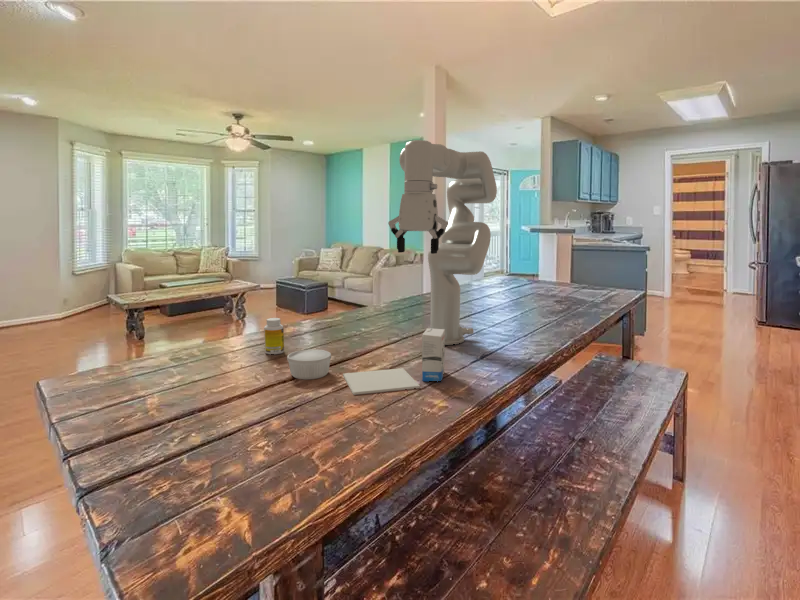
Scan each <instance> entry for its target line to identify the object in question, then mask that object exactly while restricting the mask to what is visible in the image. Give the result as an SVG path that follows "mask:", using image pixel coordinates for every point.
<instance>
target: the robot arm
mask: <svg viewBox="0 0 800 600" xmlns="http://www.w3.org/2000/svg"><path fill="white" fill-rule="evenodd" d="M399 164H400V168H401V169H402V170H403V172H404V185H403V186H404V188H403V189H404V192H403V193H402V194H401V198H400V204H399V213H398V216H396V217H394V218H393V219H391V220H389V221H388V227H389V229H390V231H391V233H392V234H393V235H394V237H395V238H396V249H397V253H405V251H406V238H405V237H404V236H405V235H406V233H407V232H428V233H429V234H430V235H431V236H432V238H430V249H429V251H428V254H427V260H428V261H427V262H428V269H429V275H430V320H429V322H430V323H429V324H430V326H429V328H432V329H445V346H453V344H455V345H459V343H460V344H462V343H464V342H465V337H464V336H465V335H473V334H474V329H473V327H469V328H467V327H463V326H461V325H460V324H461V323H460V320H461V319H460V317H461V315H460V314H461V285H460V283H459V281H458V279H457V278H456V276H455V275H465V276H466V275H468V276H473V275H475V276H476V275H477V274H479V273H480V272H481V270H482V269H483V267H484V263H485V260H486V257H487V254H488V251H489V248H490V245H491V237H492V236H491V230H490V227H489V225H488V224H487V223H485V222H482V221H475V216H474V214H473V213H472V211H471V209H469V207H468V206H466V205H467V204H469V205H470V204H472V205H473V204H490V203H492V202H494V201H495V199H496V198H497V194H498V188H497V182H496V181H497V180H496V179H495V174H494V170H493V166H492V162H491V159H490V157H489V155H488V154H487V153H485V152H484V151H467V152H465V151H463V152H460V151H458V150H455V149H451V148H447V147H446V146H445V145H444V144H439V143H438V144H437V143H432V142H431V141H429V140H423V139H416V140H414V139H413V140H410V141H407V142H406V143H405V146H404V148H402V150H401V152H400V155H399ZM434 177H436V178H448V179H454V180H451V181H450V183H449V184H448V185H447V188H446V199H447V207H448V212H449V217H448V220H445V219H443V218H442V217H440V216H438V202H437V195H436V193H433V192H434V190H437V189H438V184H436V183H434V181H433V178H434ZM465 204H466V205H465ZM396 224H398V227H399V229H398V228H397V226H396ZM439 224H440V228H439ZM438 228H439V229H438ZM440 238H441V239H440ZM440 240H441V243H440Z"/></svg>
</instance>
